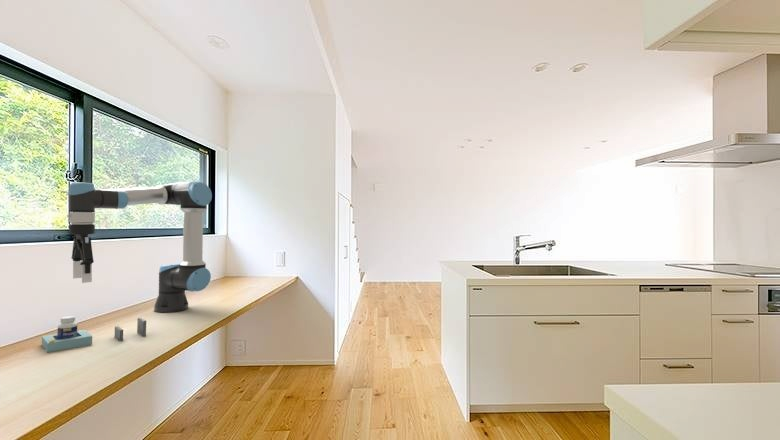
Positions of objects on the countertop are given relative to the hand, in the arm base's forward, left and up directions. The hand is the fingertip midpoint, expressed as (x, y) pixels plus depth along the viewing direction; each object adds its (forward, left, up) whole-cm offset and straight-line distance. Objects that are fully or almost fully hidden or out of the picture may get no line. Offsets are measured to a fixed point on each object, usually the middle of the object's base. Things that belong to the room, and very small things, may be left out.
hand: (82, 280), depth 141 cm
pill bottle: (+4, +4, -22) cm, 23 cm away
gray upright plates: (-14, +9, -22) cm, 28 cm away
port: (+4, +4, -22) cm, 23 cm away
